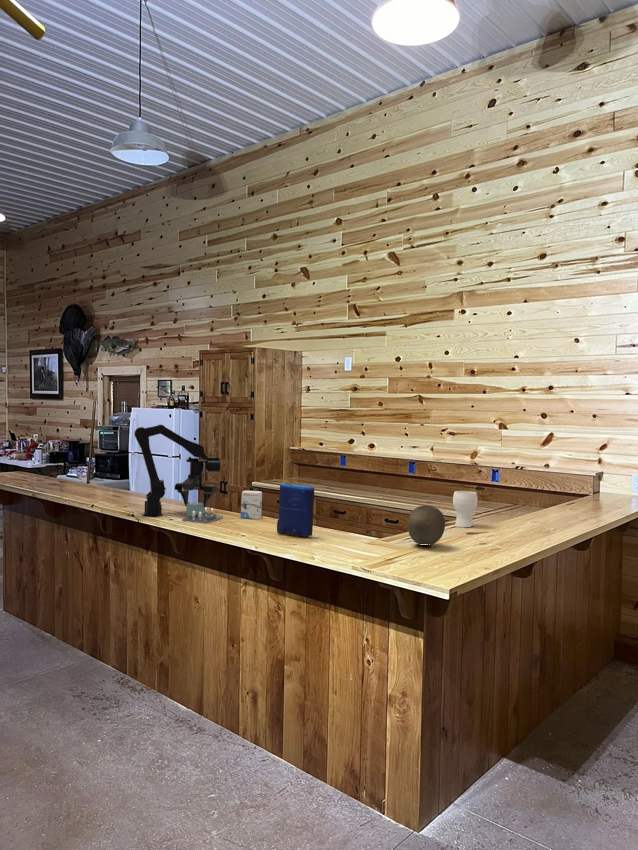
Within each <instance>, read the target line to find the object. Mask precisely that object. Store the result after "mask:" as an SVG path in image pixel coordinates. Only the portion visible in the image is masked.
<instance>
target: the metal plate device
mask: <svg viewBox="0 0 638 850" xmlns="http://www.w3.org/2000/svg"><path fill="white" fill-rule="evenodd" d="M214 511H215V508H214V507H211V508H210V514H209V515H208V512H209V511H208V507H205V508H204V514H202V512H201V511H200V512H199V513H196V511H192V515H190V516H187V517H183V518H182V519H181V521H182V522H187V521H189V522H190V523H197V522H198V523H200V524H207V523H208V524H210V523H213V521H214V522H216V521H220V520H222V519H224V516H220V515H217V514H214V513H215V512H214ZM189 522H188V523H189Z"/></svg>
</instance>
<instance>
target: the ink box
mask: <svg viewBox="0 0 638 850" xmlns="http://www.w3.org/2000/svg"><path fill="white" fill-rule="evenodd" d="M240 500H241V501H240V504H241V506H240V519H250V518H252V519H251V520H260V519H261V518H262V506H263V505H262V503H263V492H262V491H259V490H242V492H241V499H240ZM245 515H246V516H245Z"/></svg>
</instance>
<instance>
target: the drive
mask: <svg viewBox="0 0 638 850" xmlns="http://www.w3.org/2000/svg"><path fill="white" fill-rule="evenodd" d="M203 503H204V502H193V503H189V504H187V506H186V513H185V514H186V517H190V515H192V511H196V513H199V512H200V511H201V512H202V515H204V507H203Z"/></svg>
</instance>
